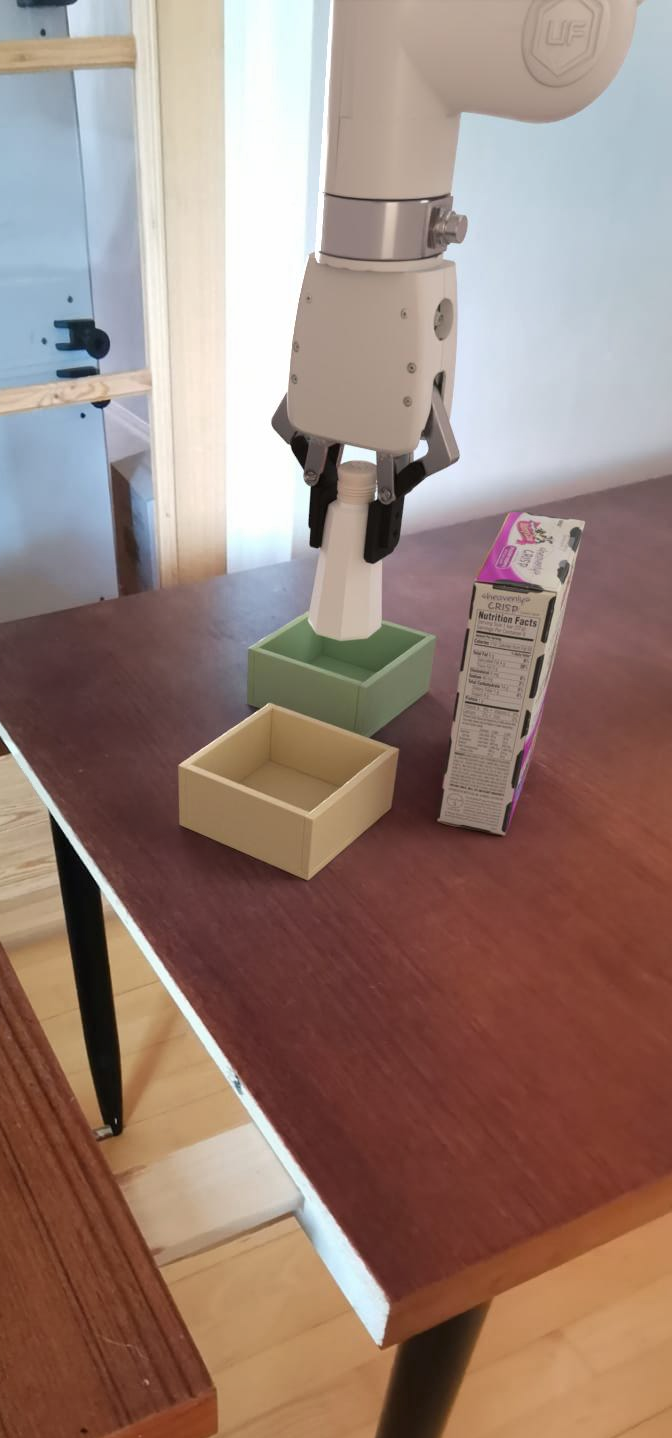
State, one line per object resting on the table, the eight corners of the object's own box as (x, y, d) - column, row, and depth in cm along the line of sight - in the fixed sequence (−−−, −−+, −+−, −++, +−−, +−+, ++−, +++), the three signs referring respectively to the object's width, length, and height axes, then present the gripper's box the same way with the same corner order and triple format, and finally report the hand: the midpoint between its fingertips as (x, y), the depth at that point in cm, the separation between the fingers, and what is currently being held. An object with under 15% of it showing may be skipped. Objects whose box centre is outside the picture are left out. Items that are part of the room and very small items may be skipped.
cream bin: (391, 808, 73) (399, 748, 70) (308, 881, 68) (312, 819, 64) (267, 760, 78) (269, 702, 75) (179, 825, 72) (177, 765, 69)
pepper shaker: (338, 648, 78) (353, 484, 70) (292, 621, 81) (301, 461, 73) (396, 630, 80) (417, 469, 72) (349, 603, 83) (364, 447, 75)
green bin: (428, 691, 85) (437, 635, 82) (360, 745, 79) (366, 687, 76) (318, 655, 90) (322, 601, 86) (246, 704, 84) (247, 648, 81)
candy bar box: (464, 743, 79) (508, 508, 68) (534, 756, 78) (590, 518, 67) (429, 824, 72) (471, 575, 61) (506, 840, 71) (563, 588, 59)
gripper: (541, 236, 62) (483, 561, 75) (298, 208, 70) (283, 508, 82) (480, 257, 58) (430, 597, 71) (228, 224, 65) (224, 538, 78)
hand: (351, 546), depth 76 cm, fingers closed on pepper shaker, 3 cm apart
